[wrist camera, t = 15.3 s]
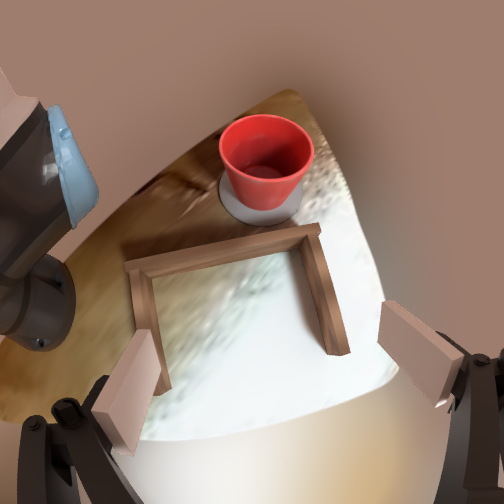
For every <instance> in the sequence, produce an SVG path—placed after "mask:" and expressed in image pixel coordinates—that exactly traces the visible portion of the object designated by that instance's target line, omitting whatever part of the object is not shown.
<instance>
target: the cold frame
mask: <svg viewBox="0 0 504 504" xmlns="http://www.w3.org/2000/svg"><path fill="white" fill-rule="evenodd" d="M320 233H321V228H320V225H319V223H318V222H317V223H312V224H307V225H301V226H296V227H291V228H286V229H280V230H275V231H270V232H265V233H260V234H255V235H250V236H245V237H240V238H235V239H230V240H225V241H220V242H215V243H210V244H206V245H201V246H196V247H191V248H186V249H182V250H177V251H172V252H167V253H163V254H158V255H153V256H149V257H144V258H140V259H135V260H131V261H126V262H124V268H125V272H126V273H128V274H129V275H130V283H131V292H132V300H133V308H134V315H135V322H136V328H137V330H139V329H150V331H151V334H152V338H153V342H154V346H155V349H156V353H157V356H158V359H159V363H160V366H161V372H160V375H159V378H158V381H157V384H156V387H155V390H154V393H153V396H160V395H162V394H164V393H165V392H167V391H169V390H170V389H172V388H171V383H170V379H169V375H168V370H167V366H166V361H165V357H164V352H163V347H162V342H161V336H160V331H159V325H158V319H157V313H156V307H155V300H154V294H153V286H152V279H153V278H158V277H163V276H168V275H173V274H178V273H182V272H187V271H192V270H197V269H202V268H207V267H212V266H217V265H221V264H226V263H231V262H236V261H241V260H246V259H250V258H255V257H260V256H265V255H270V254H274V253H279V252H284V251H289V250H293V249H298V248H299V249H300V253H301V256H302V260H303V263H304V267H305V270H306V274H307V277H308V281H309V284H310V288H311V292H312V295H313V299H314V303H315V307H316V311H317V314H318V318H319V322H320V326H321V330H322V334H323V338H324V342H325V346H326V350H327V355H335V356H343V355H346V354H349V353H351V352H350V348H349V344H348V340H347V336H346V332H345V328H344V324H343V320H342V316H341V312H340V309H339V305H338V301H337V298H336V294H335V290H334V287H333V283H332V280H331V276H330V273H329V270H328V266H327V263H326V260H325V256H324V253H323V250H322V247H321V244H320V240H319V237H318V236H319V234H320Z"/></svg>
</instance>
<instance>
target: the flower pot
mask: <svg viewBox="0 0 504 504" xmlns="http://www.w3.org/2000/svg"><path fill="white" fill-rule="evenodd" d="M219 152H220V156H221V159H222V161H223V164H224V166H225V169H226V172H227V174H228V177H229V180H230V182H231V185H232V187H233V189H234V192H235V194H236V196H237V198H238V199H239V200H240V202H241V203H243V204H244V205H245V206H247V207H248V208H251V209H253V210H258V211H268V210H273V209H275V208H277V207H279V206H280V205H282V204H283V203H284V202H285V200H286V199H287V198H288V196H289V195H290V194H291V193H292V191H293V190H294V189H295V187H296V186H297V185H298V183H299V182H300V180H301V179H302V177H303V176H304V174H305V173H306V171H307V170H308V168H309V167H310V165H311V163H312V160H313V157H314V146H313V143H312V140H311V138H310V137H309V135H308V134H307V133H306V132H305V130H304V129H302V128H301V127H300V126H299V125H297V124H296V123H294V122H292V121H290V120H288V119H285V118H283V117H279V116H274V115H266V114H260V115H252V116H247V117H244V118H241V119H239V120H237V121H235V122H234V123H232V124H231V125H229V126H228V127H227V128H226V129H225V130H224V132H223V133H222V135H221V137H220V140H219Z"/></svg>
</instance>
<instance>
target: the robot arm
mask: <svg viewBox="0 0 504 504" xmlns="http://www.w3.org/2000/svg"><path fill="white" fill-rule="evenodd" d="M98 198H99V189H98V186H97V184H96V182H95V180H94V178H93V176H92V174H91V172H90V170H89V168H88V166H87V164H86V162H85V160H84V158H83V156H82V154H81V152H80V149H79V147H78V145H77V143H76V141H75V139H74V137H73V135H72V132H71V130H70V127H69V125H68V123H67V120H66V118H65V116H64V113H63V111H62V108H61V106H60V105H59V104H56V105H54V106H49V107H48V108H47V111H46V110H45V109H44V108H43V106H42V105H41V103H40V101H39V100H38V98H37V97H28V96H18V95H17V94H15V92H14V90H13V89H12V87H11V85H10V84H9V82H8V80H7V78H6V77H5V75H4V73H3V71H2V69H1V67H0V335H5V336H7V337H8V338H10V339H11V340H13V341H15V342H16V343H18V344H19V345H21V346H23V347H24V348H26V349H29V350H32V351H41V352H45V351H50V350H53V349H55V348H56V347H58V346H59V345H60V344H61V343H62V342H63V341H64V339H65V338H66V336H67V335H68V333H69V331H70V329H71V326H72V323H73V319H74V314H75V305H76V297H75V288H74V284H73V280H72V278H71V275H70V273H69V271H68V269H67V268H66V267H65V265H64V264H63V263H62V262H61V261H59V260H58V259H56V258H54V257H52V256H51V255H48V254H46V253H47V252H48V251H49V250H50V249H51V248H52V247H53V246H54V245H55V244H56V243H57V242H58V241H59V240H60V239H61V238H62V237H63V236H64V235H65V234H66V233H67V232H69V231H70V230H71V229H75V228H76V227H77V223H78V222H79V221H80V220H81V219H82V218H84V217H85V216H86V215H87V214H88V213H89V212H90V211H91V210H92V209H93V208H94V207H95V205H96V204H97V202H98ZM377 342H378V343H379V344H380V346H381V347H382V348H383V349H384V350H385V351H386V352H387V353H388V354H389V356H390V357H391V358H392V359H393V360H394V361H395V362H396V363H397V365H398V366H399V367H400V368H401V369H402V370H403V371H404V372H405V374H406V375H407V376H408V377H409V378H410V379H411V380H412V381H413V383H414V384H415V385H416V386H417V387H418V388H419V390H420V391H421V392H422V393H423V394H424V395H425V396H426V398H427V399H428V400H429V401H430V402H431V403H432V404H433V406H434V407H435V408H436V407H438V406H440V405H442V404H444V403H446V402H447V400H448V398H449V395H450V393H452V394H453V395H454V396H455V397H454V399H453V401H452V403H451V406H450V408H449V410H448V413H450V411H451V410H452V413H451V422H450V430H449V438H448V444H447V450H446V455H445V461H444V465H443V470H442V474H441V479H440V482H439V486H438V490H437V494H436V497H435V501H434V504H504V488H500V487H498V473H499V457H500V455H501V460H502V464H503V470H504V349H502V350H501V353H500V356H499V358H495V359H490V358H489V357H488V356H486V355H484V354H474V355H470V354H469V353H468V352H467V351H465V350H464V349H463V348H462V347H461V346H459V345H458V344H456V343H455V342H454V341H453V340H451V339H450V338H449V337H448V336H446V335H445V334H443V333H440V332H438V331H436V332H435V331H433V330H432V329H431V328H429V327H428V326H427V325H426V324H424V323H423V322H421V321H420V320H419V319H418V318H416V317H415V316H414V315H412V314H411V313H409V312H408V311H407V310H406V309H404V308H403V307H402V306H400V305H399V304H398V303H396V302H395V301H393V300H390V301H385V302H382V308H381V317H380V326H379V333H378V341H377ZM160 372H161V366H160V363H159V359H158V356H157V353H156V349H155V346H154V342H153V338H152V334H151V331H150V329H139V330H137V331H136V333H135V334H134V336H133V338H132V339H131V341H130V343H129V344H128V346H127V348H126V349H125V351H124V353H123V354H122V356H121V358H120V359H119V361H118V363H117V365H116V366H115V368H114V370H113V371H112V373H111V375H103V376H102V377H101V378H99V379H98V380H97V381H96V382H95V384H94V386H93V387H92V389H91V391H90V392H89V395H88V396H87V397H86V399H85V401H84V403H83V404H82V406H80V404H79V402H78V401H77V400H76V399H74V398H63V399H61V400H58V401H57V402H56V403H55V404H54V405H53V406H52V408H51V413H52V415H53V416H54V418H55V419H56V421H57V422H58V423H55V424H48V423H47V421H46V420H45V419H44V417H42V416H40V415H33V416H30V417H29V418H27V419H26V420H25V421H24V423H23V426H22V432H21V440H20V448H19V459H18V474H17V504H81V502H80V496H79V491H78V484H77V477H76V471H77V473H78V476H79V478H80V480H81V482H82V484H83V487H84V489H85V491H86V493H87V495H88V497H89V499H90V501H91V502H92V504H144V503H143V501H142V500H141V499H140V497H139V496H138V495H137V493H136V492H135V490H134V489H133V488H132V486H131V485H130V483H129V482H128V480H127V479H126V477H125V476H124V474H123V472H122V471H121V470H120V468H119V466H118V465H117V463H116V461H115V459H114V458H113V456H112V455H111V453H110V452H111V449H112V446H113V447H114V449H115V450H116V452H117V453H118V454H122V455H129V456H134V454H135V450H136V447H137V444H138V440H139V437H140V434H141V431H142V427H143V424H144V421H145V418H146V415H147V411H148V408H149V405H150V402H151V399H152V396H153V393H154V390H155V387H156V384H157V381H158V378H159V375H160ZM75 468H76V470H75Z"/></svg>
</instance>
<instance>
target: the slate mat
mask: <svg viewBox="0 0 504 504" xmlns="http://www.w3.org/2000/svg"><path fill="white" fill-rule="evenodd" d="M219 192H220V198H221V201H222V203H223V206H224V207H225V209H226V210H227V211H228V212H229V214H230V215H232V216H233V217H234V218H235V219H237V220H238V221H240V222H242V223H245V224H248V225H251V226H257V227H268V226H274V225H277V224H280V223H282V222H284V221H286V220H287V219H289V218H290V217H291V216H292V215H293V214H294V213H295V212H296V211H297V209H298V207H299V205H300V203H301V200H302V195H303V188H302V183H301V180H300V182H299V183H298V185H297V186H296V187H295V189H294V190H293V191H292V193H291V194H290V195H289V196H288V198H287V199H286V200H285V202H284V203H283V204H282V205H280V206H279V207H277V208H275V209H273V210H268V211H258V210H253V209H251V208H248V207H247V206H245V205H244V204H243V203H241V202H240V200H239V199H238V198H237V196H236V194H235V192H234V189H233V187H232V185H231V182H230V180H229V177H228V174H227V172H226V170H225V172H224V173H223V175H222V177H221V180H220V185H219Z"/></svg>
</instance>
